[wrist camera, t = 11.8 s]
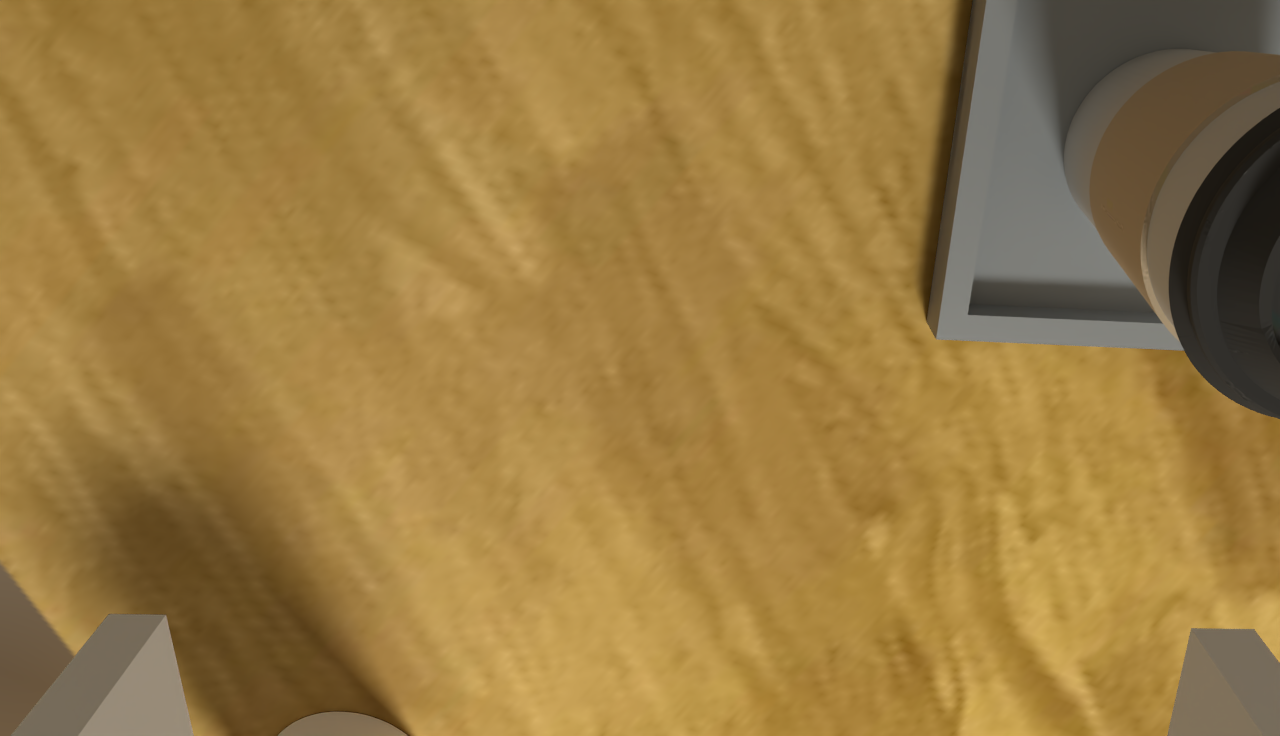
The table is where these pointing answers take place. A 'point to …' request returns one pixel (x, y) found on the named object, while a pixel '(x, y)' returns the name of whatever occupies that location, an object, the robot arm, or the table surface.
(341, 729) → the cup
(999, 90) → the tray
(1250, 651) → the robot arm
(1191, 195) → the coffee cup
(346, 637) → the table surface
